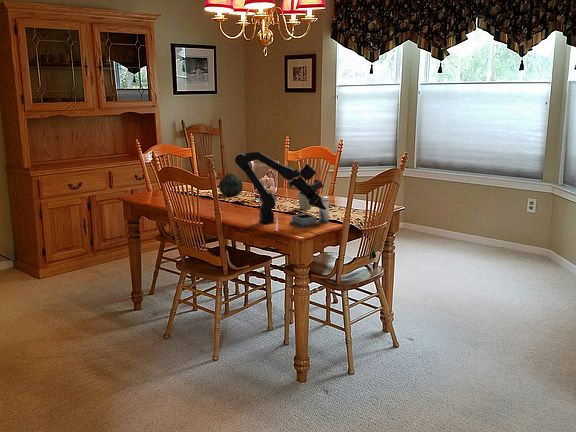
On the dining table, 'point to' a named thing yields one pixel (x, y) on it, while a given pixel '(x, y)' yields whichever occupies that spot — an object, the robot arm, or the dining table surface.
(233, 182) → the squash
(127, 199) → the dining table surface
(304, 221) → the grey square tray
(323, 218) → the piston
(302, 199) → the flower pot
